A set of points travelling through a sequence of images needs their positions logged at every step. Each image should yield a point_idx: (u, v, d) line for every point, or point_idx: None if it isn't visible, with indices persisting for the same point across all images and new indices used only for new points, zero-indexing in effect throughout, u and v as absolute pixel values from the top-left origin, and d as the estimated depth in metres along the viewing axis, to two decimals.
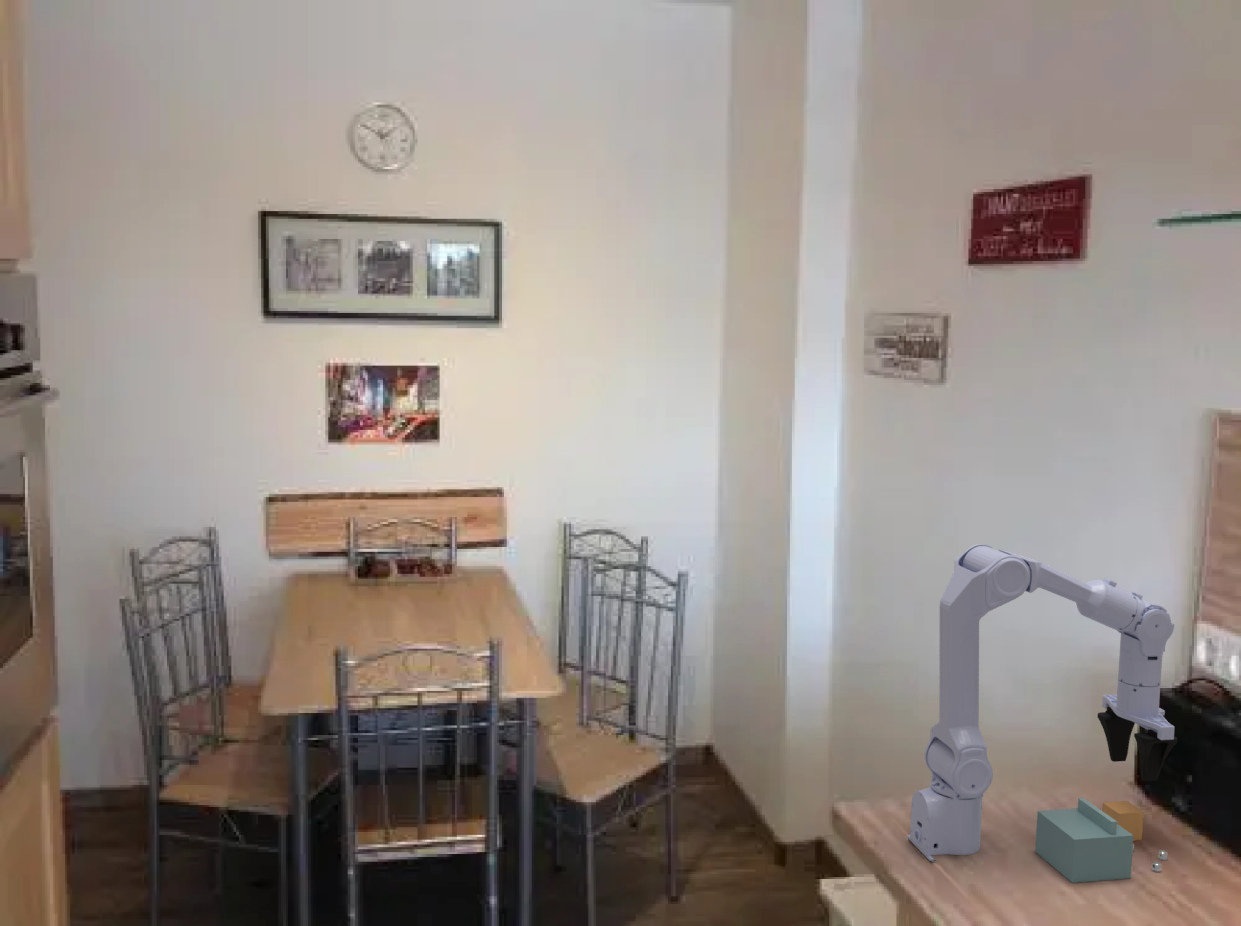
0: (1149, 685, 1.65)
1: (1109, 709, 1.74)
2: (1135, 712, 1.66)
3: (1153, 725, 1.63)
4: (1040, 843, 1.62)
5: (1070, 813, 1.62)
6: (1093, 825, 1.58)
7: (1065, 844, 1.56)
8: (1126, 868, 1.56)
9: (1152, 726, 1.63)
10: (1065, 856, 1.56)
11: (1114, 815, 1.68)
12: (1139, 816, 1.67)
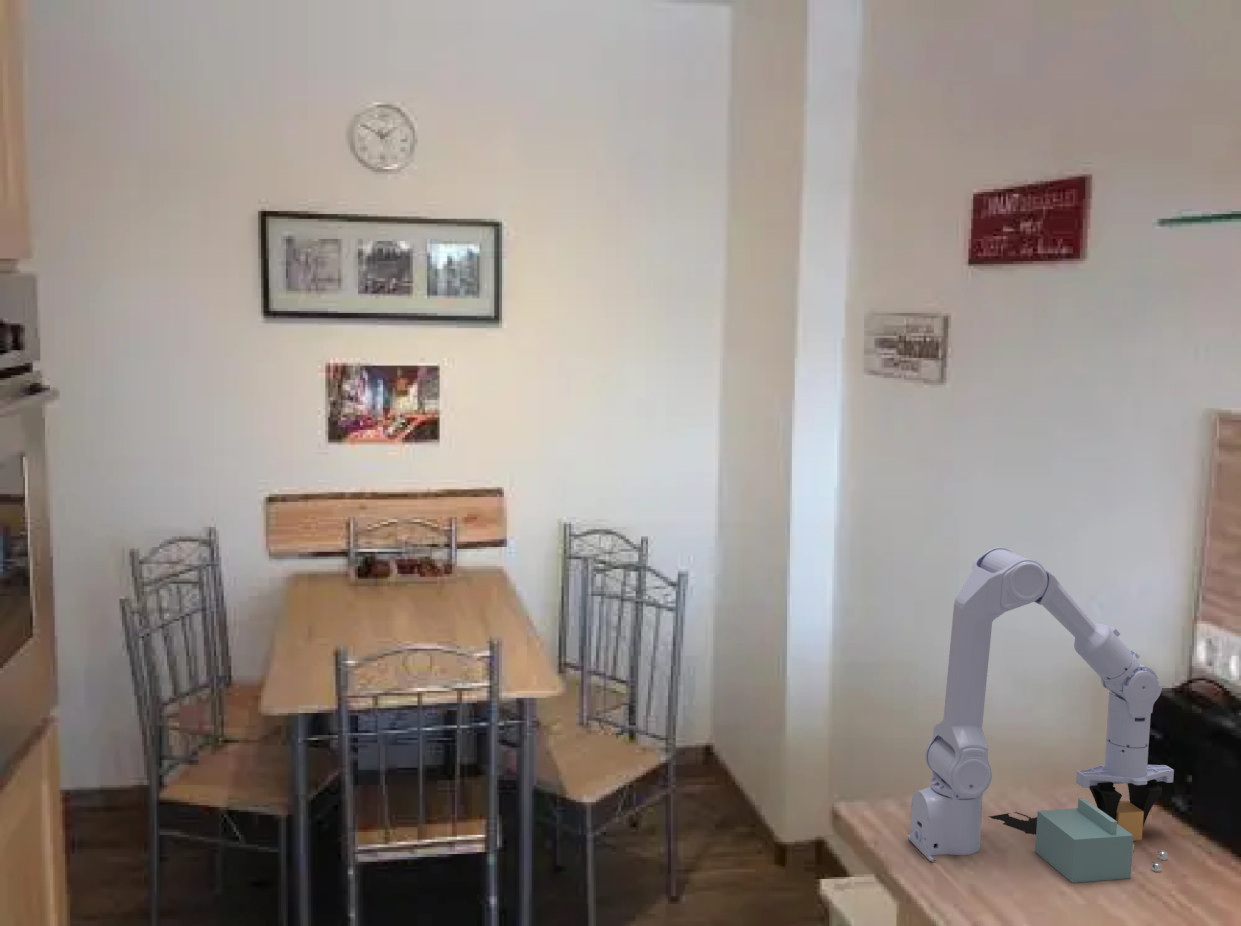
0: (1136, 746, 1.65)
1: None
2: None
3: None
4: (1040, 843, 1.62)
5: (1070, 813, 1.62)
6: (1093, 825, 1.58)
7: (1065, 844, 1.56)
8: (1126, 868, 1.56)
9: (1086, 772, 1.69)
10: (1065, 856, 1.56)
11: None
12: (1139, 816, 1.67)
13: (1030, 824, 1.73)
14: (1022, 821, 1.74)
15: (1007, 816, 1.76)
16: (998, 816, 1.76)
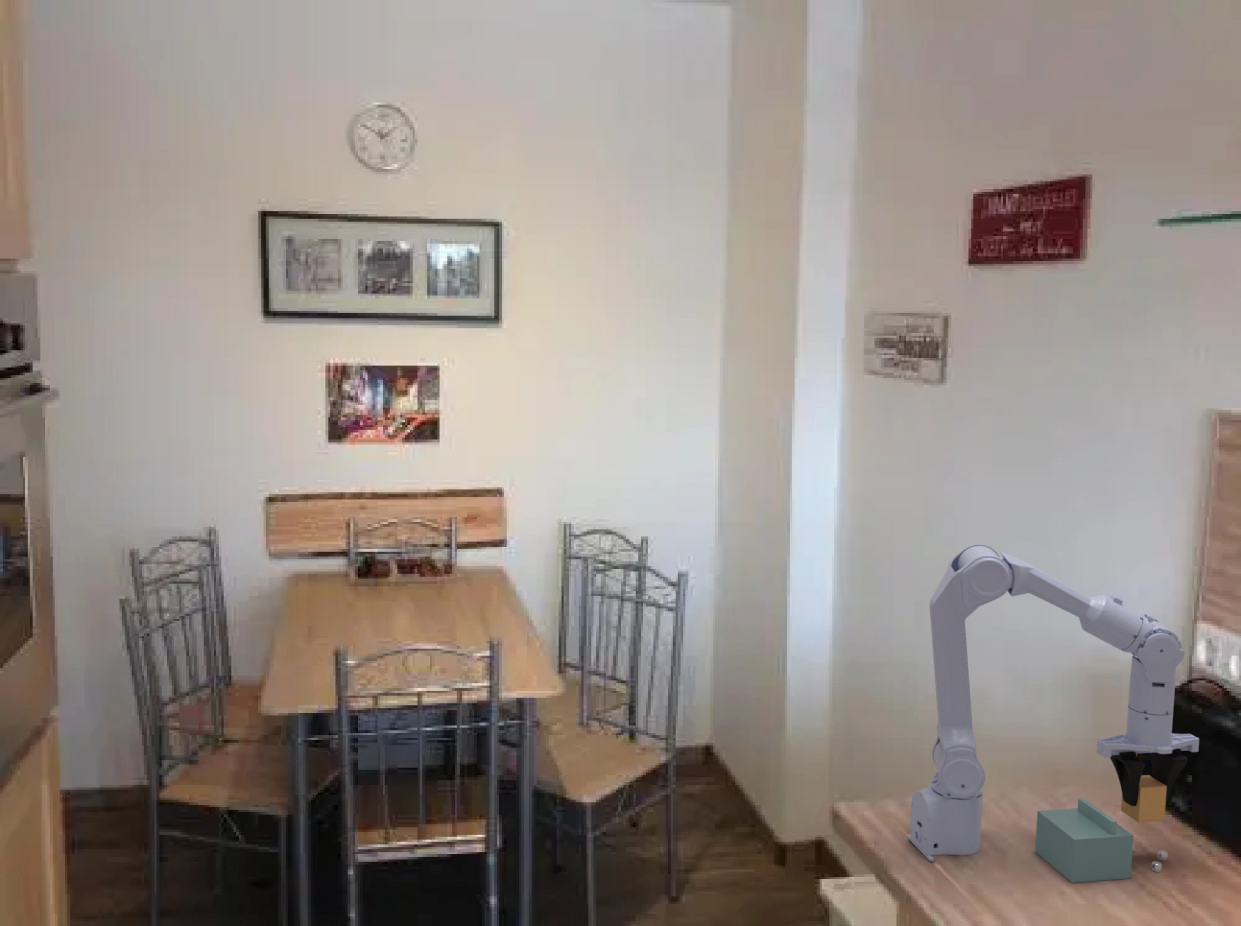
0: (1154, 713, 1.57)
1: None
2: (1126, 732, 1.61)
3: None
4: (1040, 843, 1.62)
5: (1070, 813, 1.62)
6: (1093, 825, 1.58)
7: (1065, 844, 1.56)
8: (1126, 868, 1.56)
9: (1107, 741, 1.60)
10: (1065, 856, 1.56)
11: None
12: (1162, 791, 1.59)
13: None
14: None
15: None
16: None
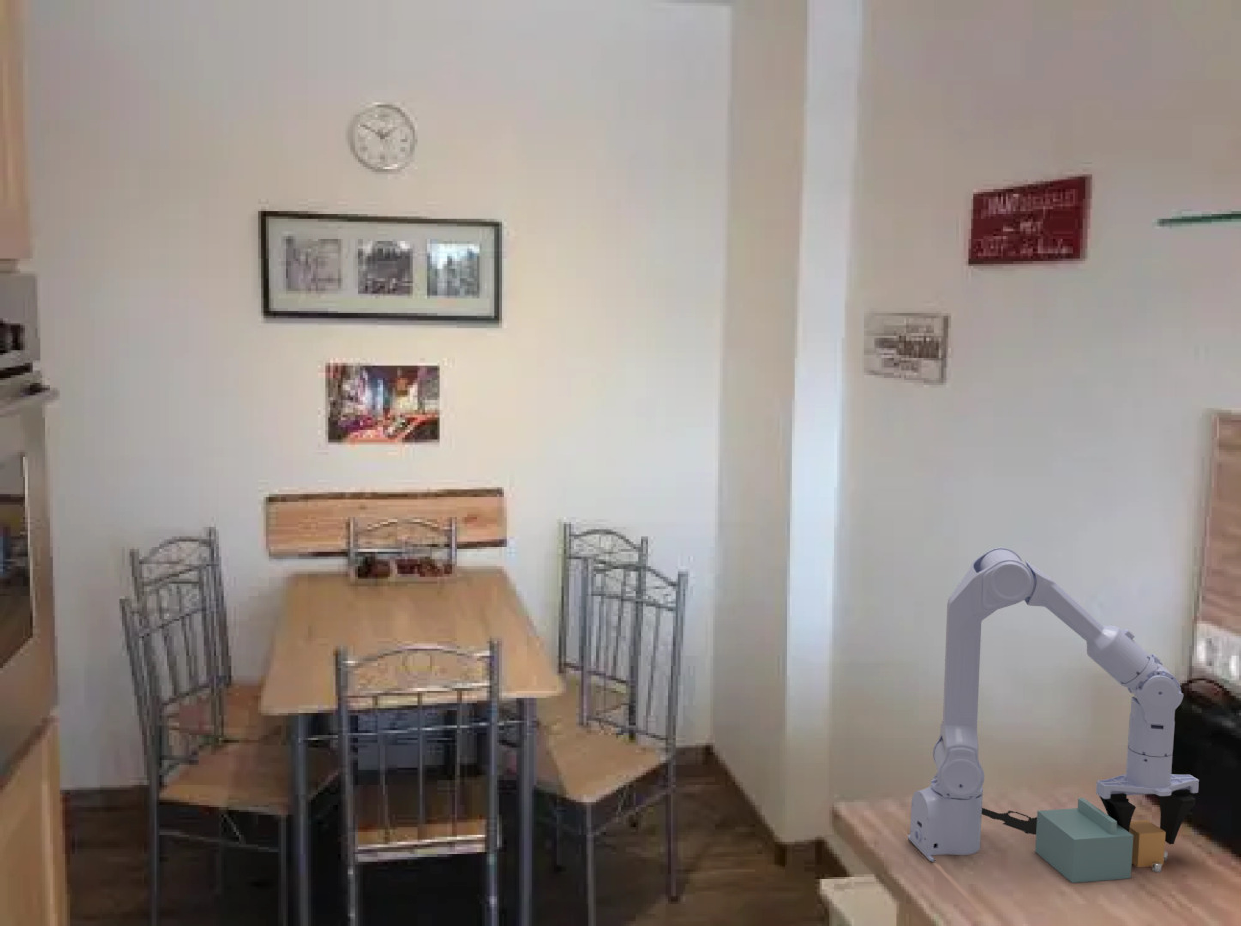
0: (1153, 755, 1.57)
1: None
2: None
3: None
4: (1040, 843, 1.62)
5: (1070, 813, 1.62)
6: (1093, 825, 1.58)
7: (1065, 844, 1.56)
8: (1126, 868, 1.56)
9: (1106, 782, 1.60)
10: (1065, 856, 1.56)
11: (1134, 835, 1.60)
12: (1161, 837, 1.59)
13: (1030, 824, 1.73)
14: (1022, 821, 1.74)
15: (1007, 816, 1.76)
16: (998, 816, 1.76)
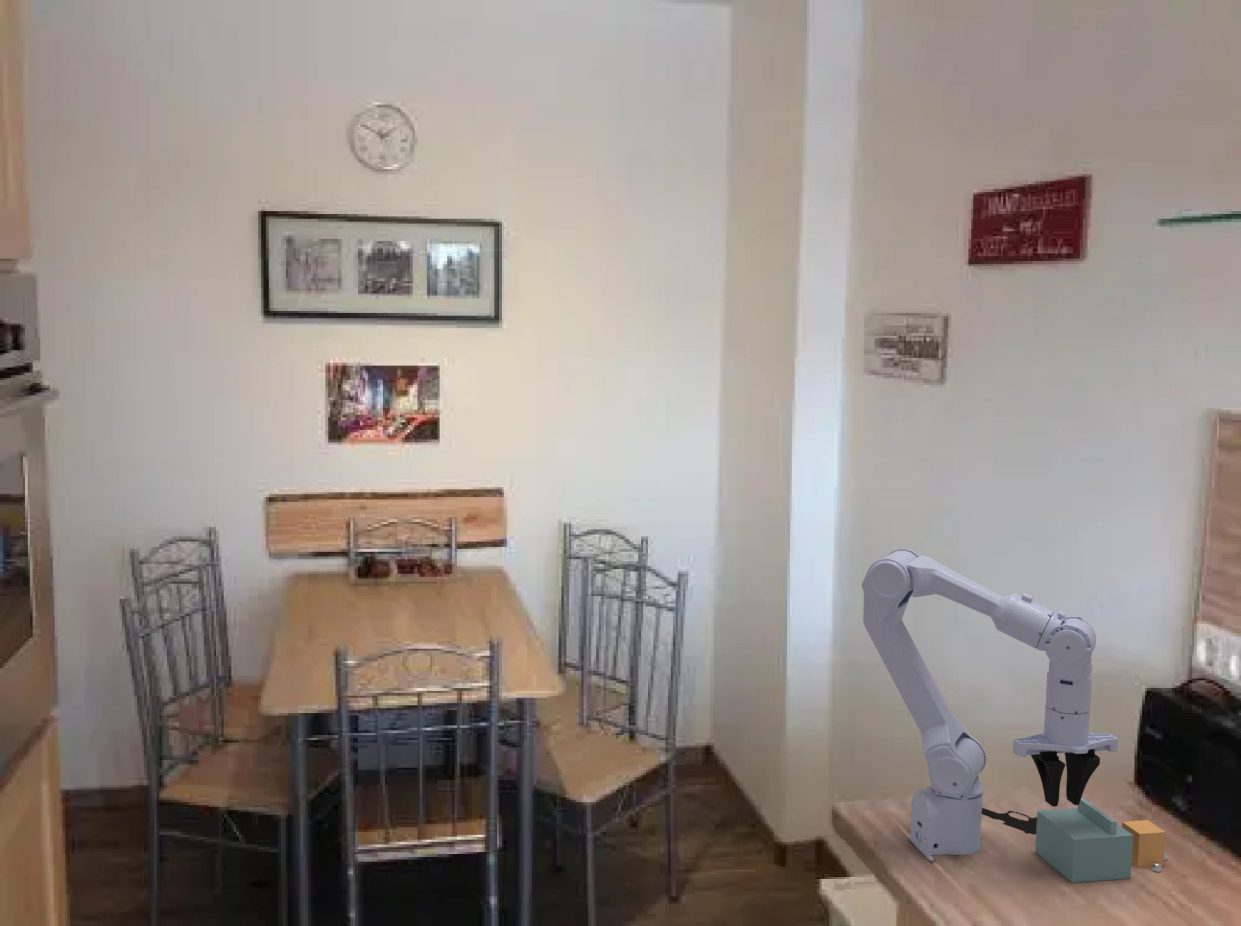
0: (1062, 711, 1.54)
1: None
2: None
3: None
4: (1040, 843, 1.62)
5: (1070, 813, 1.62)
6: (1093, 825, 1.58)
7: (1065, 844, 1.56)
8: (1126, 868, 1.56)
9: (1023, 740, 1.57)
10: (1065, 856, 1.56)
11: (1134, 835, 1.60)
12: (1161, 837, 1.59)
13: (1030, 824, 1.73)
14: (1022, 821, 1.74)
15: (1007, 816, 1.76)
16: (998, 816, 1.76)
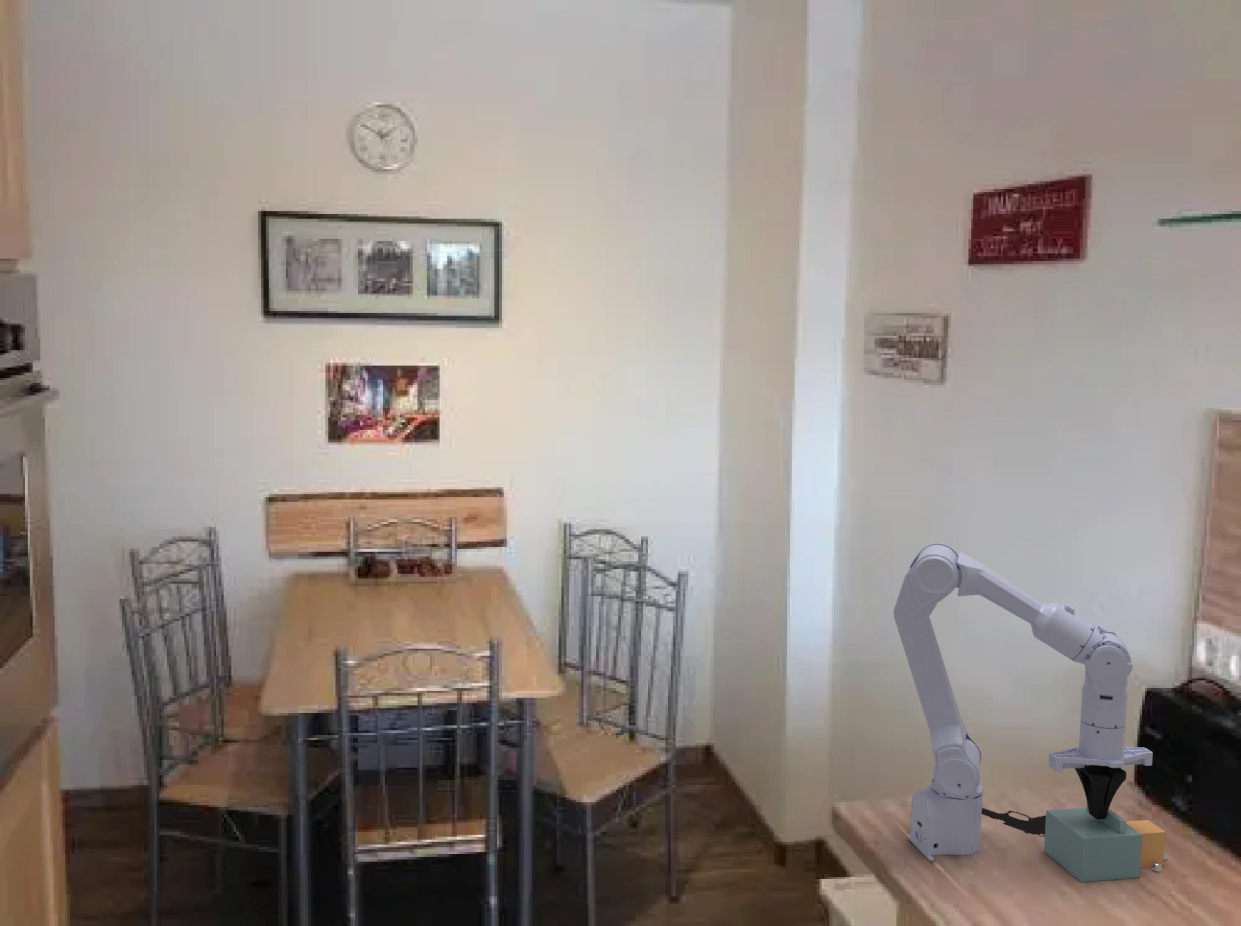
0: (1102, 726, 1.55)
1: None
2: None
3: None
4: (1049, 842, 1.62)
5: (1079, 812, 1.62)
6: (1102, 824, 1.59)
7: (1074, 843, 1.56)
8: (1135, 867, 1.56)
9: (1059, 754, 1.59)
10: (1074, 856, 1.56)
11: None
12: (1161, 837, 1.59)
13: (1030, 824, 1.73)
14: (1022, 821, 1.74)
15: (1007, 816, 1.76)
16: (998, 816, 1.76)
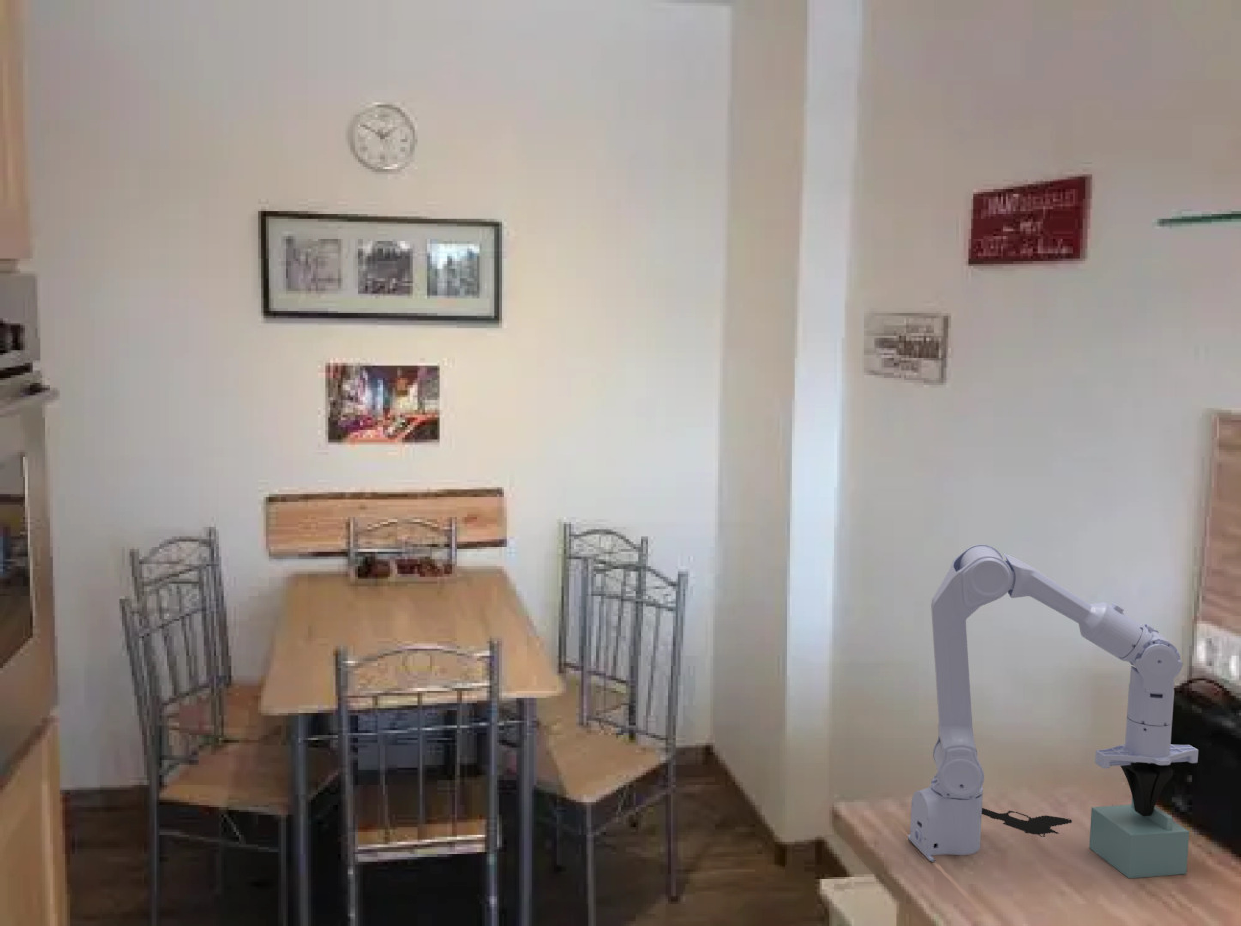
0: (1152, 724, 1.56)
1: None
2: None
3: None
4: (1094, 839, 1.64)
5: (1124, 809, 1.64)
6: (1148, 821, 1.60)
7: (1121, 840, 1.57)
8: (1181, 864, 1.57)
9: (1105, 752, 1.60)
10: (1122, 852, 1.57)
11: None
12: None
13: (1030, 824, 1.73)
14: (1022, 821, 1.74)
15: (1007, 816, 1.76)
16: (998, 816, 1.76)
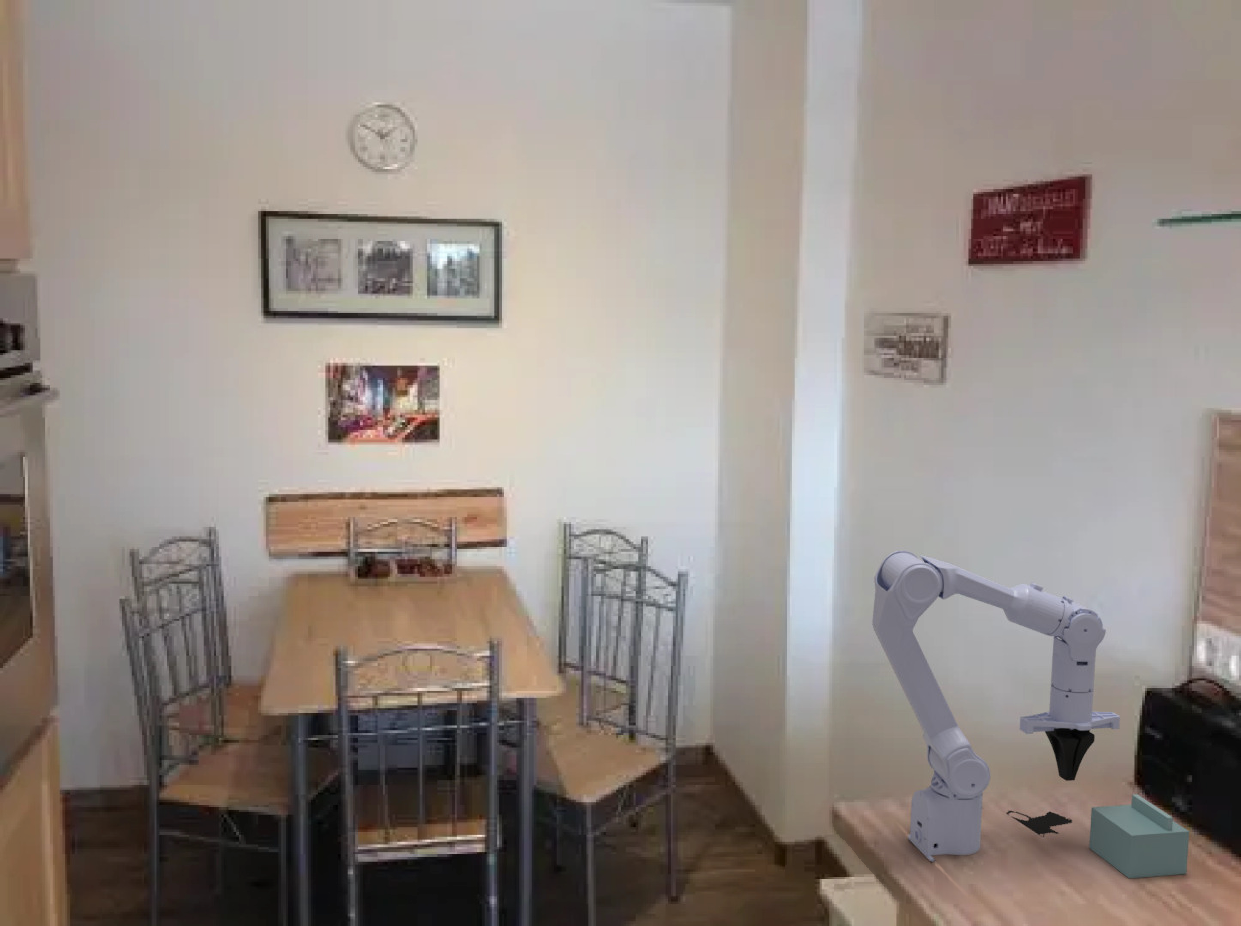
0: (1079, 691, 1.61)
1: None
2: None
3: (1029, 717, 1.65)
4: (1094, 839, 1.64)
5: (1124, 809, 1.64)
6: (1148, 821, 1.60)
7: (1121, 840, 1.57)
8: (1181, 864, 1.57)
9: None
10: (1122, 852, 1.57)
11: None
12: None
13: (1030, 824, 1.73)
14: (1022, 821, 1.74)
15: None
16: None
